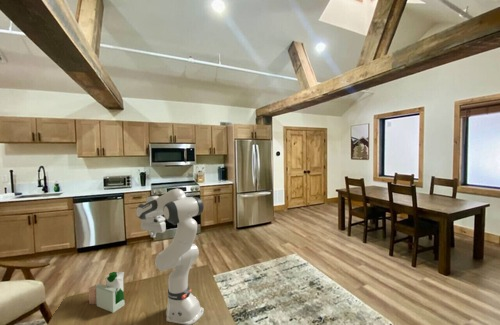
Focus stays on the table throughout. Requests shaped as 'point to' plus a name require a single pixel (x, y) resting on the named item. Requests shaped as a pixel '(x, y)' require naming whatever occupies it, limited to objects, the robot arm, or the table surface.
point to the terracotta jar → (92, 295)
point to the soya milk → (116, 284)
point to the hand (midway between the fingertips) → (153, 237)
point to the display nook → (107, 298)
